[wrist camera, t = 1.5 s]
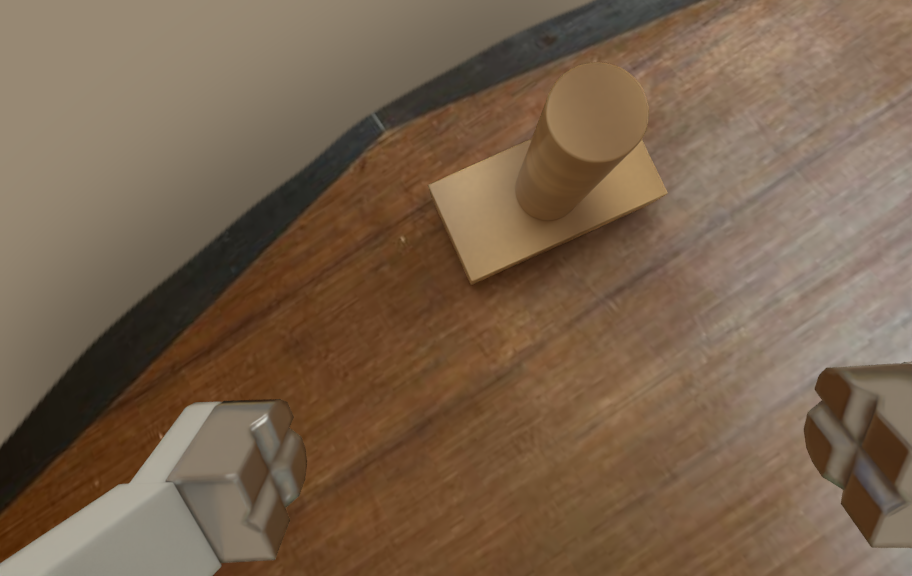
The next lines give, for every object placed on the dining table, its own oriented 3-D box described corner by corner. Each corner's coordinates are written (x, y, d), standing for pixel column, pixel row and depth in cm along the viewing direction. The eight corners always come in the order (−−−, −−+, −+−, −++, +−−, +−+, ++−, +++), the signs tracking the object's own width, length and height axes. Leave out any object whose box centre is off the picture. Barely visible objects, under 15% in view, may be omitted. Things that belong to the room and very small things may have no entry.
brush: (470, 285, 26) (475, 261, 14) (431, 199, 27) (404, 105, 15) (645, 207, 26) (793, 118, 15) (604, 121, 27) (717, -35, 15)
